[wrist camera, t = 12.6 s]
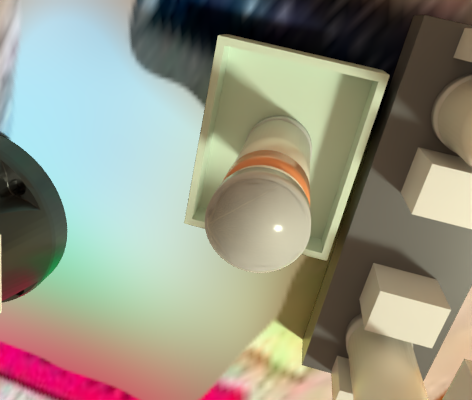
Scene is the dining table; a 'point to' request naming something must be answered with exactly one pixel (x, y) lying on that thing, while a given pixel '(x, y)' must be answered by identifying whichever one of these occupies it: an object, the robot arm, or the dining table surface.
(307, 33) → the dining table surface
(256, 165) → the marked fuse
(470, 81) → the fuse near
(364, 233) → the block
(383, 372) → the cylinder
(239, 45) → the tray
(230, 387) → the dining table surface
